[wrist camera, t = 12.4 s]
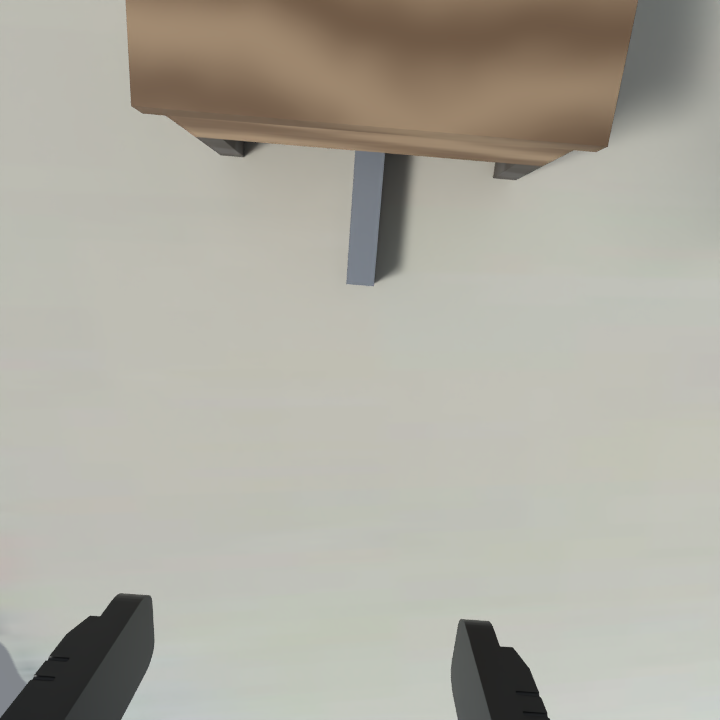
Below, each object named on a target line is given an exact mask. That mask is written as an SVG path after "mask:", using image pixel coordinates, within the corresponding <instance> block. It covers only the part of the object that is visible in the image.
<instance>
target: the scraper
mask: <svg viewBox="0 0 720 720" xmlns="http://www.w3.org/2000/svg"><path fill="white" fill-rule="evenodd" d="M384 159H385V153H380V152H368V151H356V150H355V164H354V179H353V194H352V209H351V223H350V238H349V253H348V268H347V283H346V284H354V285H366V286H374V278H375V266H376V254H377V242H378V230H379V219H380V207H381V195H382V183H383V171H384Z"/></svg>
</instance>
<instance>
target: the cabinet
mask: <svg viewBox="0 0 720 720" xmlns="http://www.w3.org/2000/svg"><path fill="white" fill-rule="evenodd" d="M637 3H638V0H126V15H127V34H128V53H129V72H130V91H131V106H132V107H134V108H135V109H137V110H138V111H140V112H141V113H144V114H155V115H166V116H167V117H169V118H170V119H171V120H173V121H174V122H176V123H177V124H178V125H180V126H181V127H182V128H184V129H185V130H187V131H188V132H189V133H191V134H192V135H194V136H195V137H196V138H198V139H199V140H200V141H202V142H203V143H205V144H206V145H207V146H209V147H210V148H212V149H213V150H214V151H216V152H217V153H219V154H220V155H225V156H236V157H244V141H250V142H262V143H274V144H285V145H297V146H309V147H321V148H333V149H345V150H356V151H368V152H380V153H392V154H404V155H415V156H427V157H439V158H451V159H463V160H475V161H486V162H495V169H494V176H493V178H498V179H510V180H517V179H519V178H520V177H522V176H524V175H526V174H528V173H530V172H532V171H534V170H536V169H538V168H540V167H542V166H544V165H546V164H548V163H550V162H552V161H554V160H555V159H557V158H559V157H561V156H563V155H565V154H567V153H569V152H571V151H573V150H578V151H590V152H597V151H599V150H601V149H603V148H606V147H608V142H609V137H610V133H611V128H612V123H613V118H614V113H615V109H616V104H617V99H618V94H619V90H620V85H621V80H622V75H623V70H624V66H625V61H626V56H627V51H628V46H629V42H630V37H631V32H632V27H633V23H634V18H635V13H636V8H637Z"/></svg>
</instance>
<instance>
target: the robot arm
mask: <svg viewBox="0 0 720 720" xmlns="http://www.w3.org/2000/svg"><path fill="white" fill-rule="evenodd" d="M153 649H154V625H153V607H152V598H151V596H149V595H136V594H123V593H120V594H118V595H117V596H115V597H114V599H113V600H112V601H111V603H110V604H109V605H108V607H107V608H106V609H105V611H104V612H103V613H102V615H101V616H89V617H88V618H87V619H85V620H84V621H83V622H81V623H80V624H79V625H78V626H76V627H75V628H74V629H72V630H71V631H70V632H69V633H67V634H66V636H65V637H64V638H63V639H62V641H61V642H60V643H59V644H58V646H57V647H56V648H55V650H54V651H53V652H52V653H51V655H50V656H49V659H48V661H45V662H44V663H43V665H42V666H41V667H40V668H39V670H38V671H37V672H36V674H35V675H34V678H33V680H30V681H29V682H28V684H27V685H26V686H25V688H24V689H23V690H22V691H21V693H20V694H19V695H18V696H17V698H16V699H15V700H14V701H13V703H12V704H11V705H10V707H9V708H8V709H7V710H6V712H5V713H4V714H3V715H2V717H1V718H0V720H121V719H122V717H123V715H124V713H125V711H126V709H127V707H128V705H129V703H130V701H131V700H132V698H133V696H134V694H135V692H136V690H137V688H138V686H139V684H140V682H141V681H142V679H143V677H144V675H145V673H146V671H147V669H148V666H149V664H150V661H151V658H152V654H153ZM451 683H452V692H453V697H454V702H455V707H456V712H457V717H458V720H550V719H549V718H548V716H547V711H546V709H545V706H544V704H543V701H542V699H541V697H539V691H538V689H537V686H536V684H535V681H534V679H533V676H532V674H531V671H530V669H529V667H528V666H527V665H526V664H525V662H524V661H523V660H522V659H521V657H520V656H519V655H518V653H517V652H516V651H515V650H514V648H513V647H500V646H499V643H498V640H497V637H496V634H495V631H494V629H493V626H492V624H491V623H490V622H489V621H479V620H465V619H460V621H459V624H458V629H457V635H456V641H455V646H454V652H453V658H452V664H451Z"/></svg>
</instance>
